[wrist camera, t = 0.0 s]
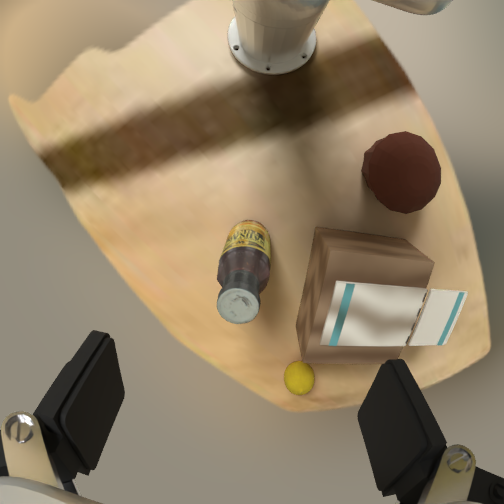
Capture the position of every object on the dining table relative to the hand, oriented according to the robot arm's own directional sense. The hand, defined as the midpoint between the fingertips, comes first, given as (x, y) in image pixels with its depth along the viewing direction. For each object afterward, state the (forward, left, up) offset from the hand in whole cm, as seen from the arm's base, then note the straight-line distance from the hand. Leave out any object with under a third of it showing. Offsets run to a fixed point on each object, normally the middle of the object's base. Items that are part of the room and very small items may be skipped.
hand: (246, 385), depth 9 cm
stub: (+13, +31, -27) cm, 43 cm away
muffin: (-7, +20, -37) cm, 43 cm away
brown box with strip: (+13, +18, -37) cm, 43 cm away
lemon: (+31, +12, -37) cm, 50 cm away
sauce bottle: (+7, 0, -37) cm, 38 cm away
